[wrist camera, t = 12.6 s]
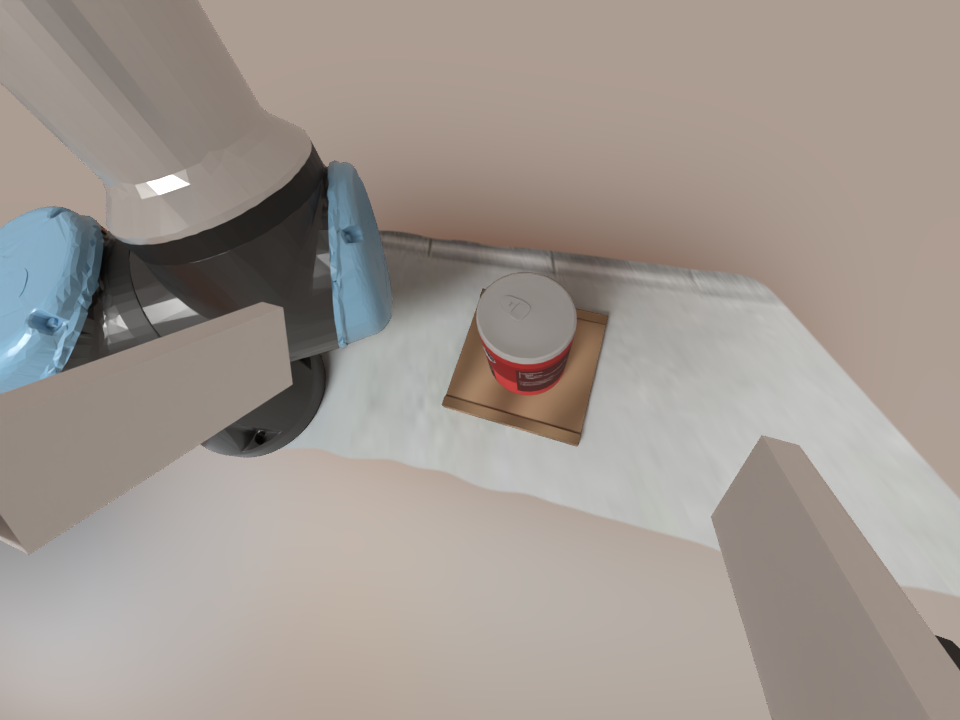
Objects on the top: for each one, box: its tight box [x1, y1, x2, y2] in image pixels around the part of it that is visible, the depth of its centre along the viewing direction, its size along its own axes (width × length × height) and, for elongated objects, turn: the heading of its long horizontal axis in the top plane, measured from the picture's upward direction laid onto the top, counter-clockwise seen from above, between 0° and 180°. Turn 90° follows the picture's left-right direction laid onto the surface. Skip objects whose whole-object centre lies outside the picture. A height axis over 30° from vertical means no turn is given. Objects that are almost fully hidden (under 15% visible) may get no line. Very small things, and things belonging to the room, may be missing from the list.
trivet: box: [442, 289, 608, 446], centre depth 39 cm, size 14×14×1 cm
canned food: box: [476, 272, 577, 395], centre depth 34 cm, size 8×8×11 cm
